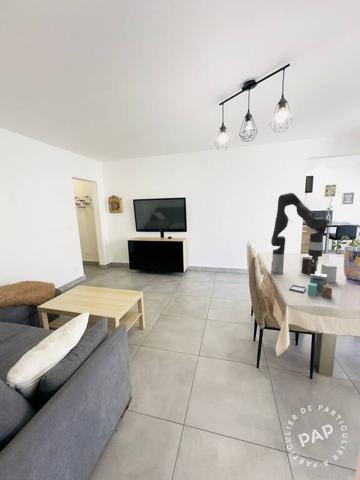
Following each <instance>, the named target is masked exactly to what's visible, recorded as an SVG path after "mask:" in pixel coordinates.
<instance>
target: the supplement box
mask: <svg viewBox="0 0 360 480" xmlns="http://www.w3.org/2000/svg"><path fill="white" fill-rule="evenodd" d="M337 268H338V266H336V265H334V264H332V263H321V269H320V273H321V274H327V283H336V282H337V272H338V271H337Z"/></svg>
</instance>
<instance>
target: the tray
mask: <svg viewBox="0 0 360 480" xmlns="http://www.w3.org/2000/svg"><path fill="white" fill-rule="evenodd" d="M288 290H289V291H293V292H298V293H302V294H304V293H305V291H306V290H307V286H302V285H297V284H291V285H290V286H289V287H288Z"/></svg>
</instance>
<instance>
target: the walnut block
mask: <svg viewBox="0 0 360 480" xmlns="http://www.w3.org/2000/svg"><path fill="white" fill-rule="evenodd" d="M332 293H333V286H332V285H328V284H326V285H324V286H323V292H322V298H325V299H330V300H331V299H332V296H333V294H332Z"/></svg>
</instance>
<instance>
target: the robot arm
mask: <svg viewBox="0 0 360 480" xmlns="http://www.w3.org/2000/svg"><path fill="white" fill-rule="evenodd" d="M292 205H293V206H294V207H295V208H296V213H297V215H298V216H299V217H300V218H301V219H302V220H303V221H304V223H305V224H306V226H307V227H308V228H310V229H312V230H314V232H311V233H310V234H309V243H308V250H307V251H308V252H307V254H308V257H312V258H311V267H310V268H311V274H315V273H316V272H317V270H318V265H319V260H320V259H319V257H323V250H324V235H325V233H326V230H327V228H328V227H327V226H328V221H327V219H326V218H325V217H315V216H316V214H315V213H314V211H312V210H311V209H309V208H308V206H306V205H305V204H304V203H303V202H302V200H301V199H300V198H299V197H298V196H297V195H296V194H295V193H294V192H287V193H284V194H280V195H279V196H278V200H277V211H276V217H275V222H274V228H273V233H272V236H271V240H270V243H271V245H272V247H278V248H276V249H273V250H272V258H271V259H272V261H271V267H270V268H271V269H270V272H272V273H275V274H283V273H284V261H285V249H286V247H285V246H286V237H285V236H284V235H280V234H281V233H282V232H283V231H284V230H285V229H286V228H287V227H288V223H289V217H288V215H287V214H286V211H285V210H286V207H288V206H292Z"/></svg>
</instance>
